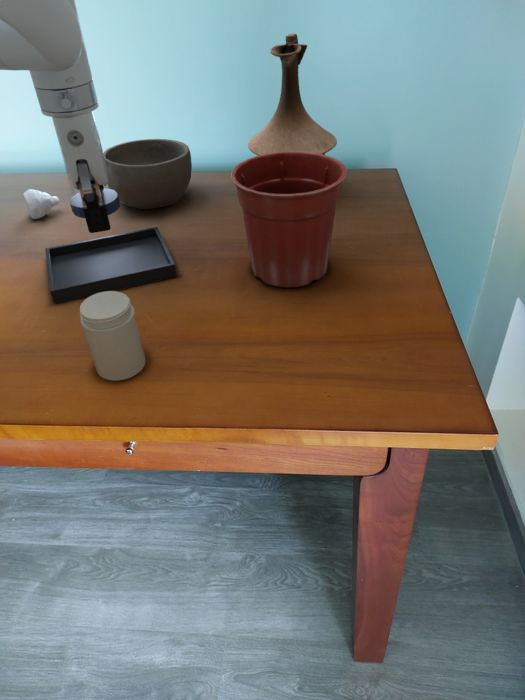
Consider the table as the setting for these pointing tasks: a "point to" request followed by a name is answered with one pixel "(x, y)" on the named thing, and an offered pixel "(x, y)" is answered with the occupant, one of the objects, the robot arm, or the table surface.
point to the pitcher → (291, 112)
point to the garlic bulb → (39, 203)
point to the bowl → (149, 172)
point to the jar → (112, 335)
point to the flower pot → (289, 213)
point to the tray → (108, 264)
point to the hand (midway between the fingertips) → (99, 218)
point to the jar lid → (108, 199)
